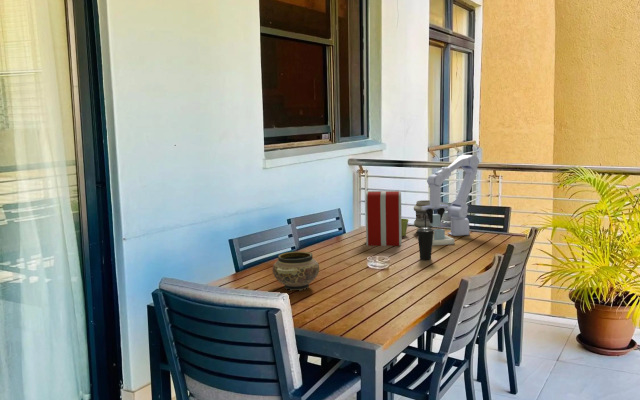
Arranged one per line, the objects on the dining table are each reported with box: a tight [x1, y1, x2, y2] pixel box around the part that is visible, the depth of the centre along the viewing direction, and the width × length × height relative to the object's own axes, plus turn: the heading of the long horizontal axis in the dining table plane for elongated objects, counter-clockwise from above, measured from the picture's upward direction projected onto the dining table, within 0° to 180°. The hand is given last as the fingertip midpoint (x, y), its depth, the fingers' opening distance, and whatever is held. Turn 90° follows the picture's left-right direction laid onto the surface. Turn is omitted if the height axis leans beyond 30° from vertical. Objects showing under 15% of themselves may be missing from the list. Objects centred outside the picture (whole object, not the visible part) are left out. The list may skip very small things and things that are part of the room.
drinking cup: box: [416, 216, 435, 261], centre depth 268 cm, size 8×8×20 cm
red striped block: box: [365, 190, 403, 247], centre depth 307 cm, size 17×18×27 cm
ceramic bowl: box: [272, 251, 320, 291], centre depth 228 cm, size 24×18×15 cm
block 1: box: [430, 213, 441, 228], centre depth 315 cm, size 4×4×6 cm
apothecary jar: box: [413, 199, 436, 235], centre depth 330 cm, size 12×12×18 cm
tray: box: [432, 233, 455, 247], centre depth 306 cm, size 12×15×2 cm
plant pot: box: [401, 218, 410, 237], centre depth 326 cm, size 9×9×9 cm
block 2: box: [433, 228, 446, 240], centre depth 303 cm, size 4×4×6 cm
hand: (435, 222), depth 315 cm, fingers closed on block 1, 4 cm apart
